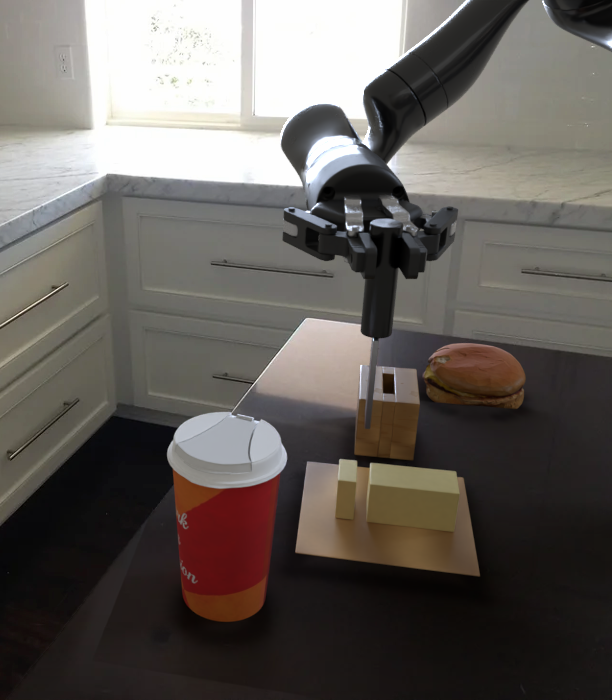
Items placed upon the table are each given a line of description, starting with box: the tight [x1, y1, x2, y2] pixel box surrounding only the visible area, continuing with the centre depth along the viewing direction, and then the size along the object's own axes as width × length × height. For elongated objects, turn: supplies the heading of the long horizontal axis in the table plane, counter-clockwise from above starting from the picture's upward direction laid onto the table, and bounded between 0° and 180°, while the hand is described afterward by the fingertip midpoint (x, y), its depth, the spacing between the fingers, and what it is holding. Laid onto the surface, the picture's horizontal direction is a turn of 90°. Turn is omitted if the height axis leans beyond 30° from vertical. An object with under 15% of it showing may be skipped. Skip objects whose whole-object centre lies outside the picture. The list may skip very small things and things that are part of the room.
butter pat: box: [335, 458, 358, 520], centre depth 68 cm, size 1×3×4 cm, turn 167°
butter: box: [366, 462, 460, 532], centre depth 67 cm, size 6×3×4 cm, turn 77°
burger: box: [421, 342, 527, 410], centre depth 88 cm, size 10×9×5 cm
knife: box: [360, 219, 403, 429], centre depth 62 cm, size 2×3×15 cm
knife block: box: [353, 364, 421, 461], centre depth 78 cm, size 5×7×7 cm
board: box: [294, 461, 481, 577], centre depth 69 cm, size 13×13×2 cm
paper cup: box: [166, 411, 288, 623], centre depth 58 cm, size 8×8×14 cm
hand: (392, 265), depth 57 cm, fingers closed on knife, 2 cm apart
